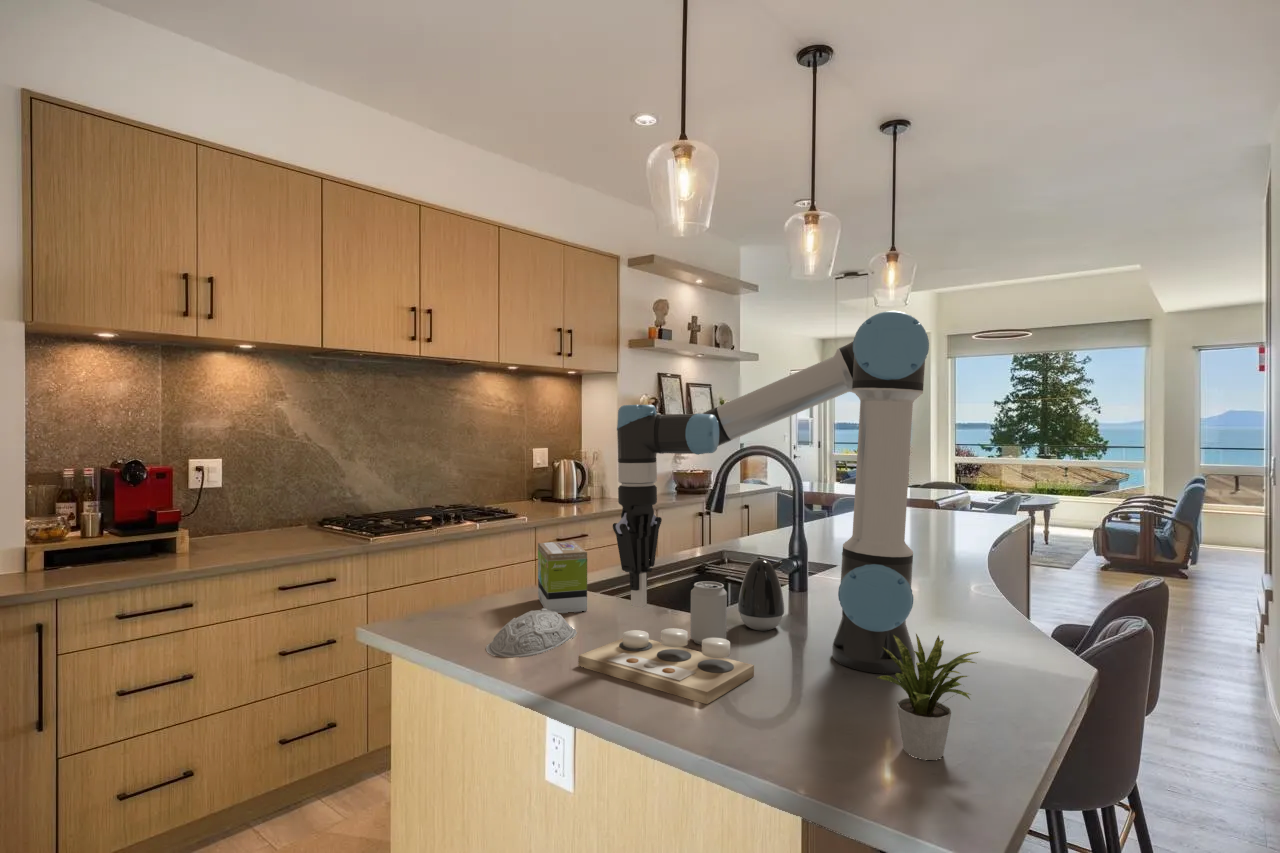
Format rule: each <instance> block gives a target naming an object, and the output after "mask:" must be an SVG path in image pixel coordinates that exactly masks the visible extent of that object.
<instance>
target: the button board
mask: <svg viewBox="0 0 1280 853" xmlns="http://www.w3.org/2000/svg"><path fill="white" fill-rule="evenodd" d="M577 656H578V662H577V665H578V667H580V666H581V668H583V667H584V669H586V670H590V671H594V672H597V673H601V674H604V675H607V676H609V677H610V676H611V677H612V678H613V677H614V678H617V679H620V680H624V681H628V682H629V683H634V684H638V685H641V686H644V687H647V688H650V689H654V690H657V691H661V692H664V693H668V694H671V695H675V696H677V697H680V698H683V699H684V698H685V699H687V700H691V701H694V702H697V703H700V704H704V705H709V704H710V703H712V702H713V701H716V700H717V699H719V698H721V697H722V696H723V695H725V694H727V693H728V692H730V691H731V690H733V689H735V688H736V687H738V686H741V684H743V683H745V682H747V681H748V680H750V679H751V678H754V677H755V665H754V664H752V663H747V662H742V661H739V660H735V659H732V658H727V657H723V658H712V657H707V656H705V655H703V654H702V651H697V650H695V649H692V648H691V649H689V648H686V647H684V646H683V647H667V646H664V645H662V644H661V641H658V640H653V639H650V638H649V645H648V646H647V647H645V648H639V649H633V648H627V647H625V646H624V645H623V637H622V638H619V639H617V640H615V641H613V642H609V643H607V644H603V645H602V646H599V647H596V648H594V649H592V650H589V651H586V652H584V653H581V654H578V655H577Z"/></svg>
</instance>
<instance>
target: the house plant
mask: <svg viewBox="0 0 1280 853" xmlns="http://www.w3.org/2000/svg"><path fill="white" fill-rule="evenodd" d="M893 636H894V635H893ZM915 637H916V642H917V648H918V649H917V650H914V651H913V652H915V656H916V657H917V659H918V661H919V662H915V666H916V668H917V673H916V670H915V667H914V664H913V661H912V658H911V655H910V653H909V650H908V649H907V648H906V646H905V645H904V644H903V643H902V642H901V640H900V639H899V638H898V637H896V636H894V638H895V641H896V643H897V645H898V648H899V651H900V653H901V657H902V661H903V664H902V663H901V662H900V660H898V659H897V658H896V657H895V656H894V655H893V654H892V653H891V652H890V651H888V650H887V649H885V648H883V649H884V650H885V651H886V652H887V653H888V654H889V655H890V656H891V658H892V659H893V660H894V662H895V663H896V664H897V665H898V666H899V668H900V669H901V671H902V673H894V676H895V677H896V678H895V677H893V676H890V675H888V674H886V675H885V674H884V675H880V676H878V677H877V679H879V680H883V681H888V682H890V683H893V684H896V685H898V686H899V687H900V688H902V689H903V690H904V691H905V692H906V694H907V696H908V697H904V698H901V699H899V700H898V701H897V702H896V709H897V716H898V723H899V728H900V729H899V730H900V734H901V743H902V748H904V749H903V751H904V750H905V751H906V752H907V753H908V754H910V755H912V756H914V757H917V758H921V759H927V760H936V759H939V758H941V757H942V756H943V757H944V753H945V748H946V742H947V737H948V732H949V726H950V721H951V717H952V711H951V708H950V707H949V706H947V705H946V704H944V702H945V703H946V701H948V700H949V699H951V698H953V697H954V695H952V696H950V697H949V698H947V699H946V700H945V701H943V702H940V701H939V700H940V699H941V697H942V696H943V694H945V693H955V694H956V695H958V694H959V695H961V696H963V697H966V698H967V699H969V700H971V698H970V697H969V695H970V696H972V694H971V693H969V692H965V691H963V690H961V689H956V688H955V687H959V686H962V685H963V687H965V686H964V684H962V683H960V682H958V680H960V679H961V678H966V677H969V675H962V673H961V672H959V671H956V670H954V669H955V668H956V667H957V666H959V665H961V664H966V663H969V664H970V663H971V664H976V661H972V660H973V658H966V657H968V656H971V655H974V654H979V653H980V651H972V652H968V653H963V654H961V655H959V656H957V657H955V658H953V659H952V660H950V661H949V662H948V663H944V664H940V665H939V663H940V660H941V658H942V647H943V645H944V644H945V643H944V641H945V639H942V640H941V639H940V633H939V634H938V636H937V637H936V638H935V642H934V645H933V647H932V649H931V651H930V653H929V655H928V657H927V659H926V655H925V650H924V648H923V646H922V643H921V640H920V638H919V636H918V634H917V633H915ZM940 669H941V670H940ZM939 670H940V672H939V673H938V674H937V675H936V676H935V673H936V671H937V672H938V671H939ZM950 673H956V674H961V675H959V676H955V677H950V676H949V674H950ZM917 674H918V676H917ZM934 676H935V677H934ZM946 679H950V680H948V681H945V680H946ZM905 751H904V752H905ZM906 752H905V753H906ZM907 753H906V754H907ZM908 754H907V755H908ZM910 755H909V756H910ZM912 756H911V757H912ZM914 757H913V758H914ZM917 758H916V759H917ZM941 759H942V758H941ZM936 761H937V760H936Z"/></svg>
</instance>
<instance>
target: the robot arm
mask: <svg viewBox="0 0 1280 853" xmlns="http://www.w3.org/2000/svg"><path fill="white" fill-rule="evenodd" d="M929 340H930V339H929V336H928V334H927V332H926V329H925V328H924V326H923V325H922V323H920V321H919V320H918V319H917V318H916V317H914V316H912V315H911V314H908V313H906V312H904V311H898V310H887V311H886V310H885V311H882V312H879V313H876V314H874V315H871V316H870V317H869V318H867V319H866V320H864V321H863V323H861V325H860V326H858V329H857V331H856V333H855V335H854V338H853V340H852V341H851V342H849V343H848V344H845V345H844V346H840V347H838V348H837V349H836V351H835V353H834V355H833V356H832V357H829V358H827V359H825V360H822V361H820V362H818V363H815V364H813V365H811V366H808V367H805V368H804V369H801V370H799V371H797V372H794V373H792V374H790V375H787V376H785V377H783V378H780V379H778V380H775V381H774V382H771V383H769V384H766V385H764V386H762V387H760V388H757V389H755V390H753V391H751V392H749V393H747V394H743V395H741V396H739V397H737V398H734V399H732V400H730V401H728V402H725V403H723V404H720V405H718V406H716V407H713V408H711V409H709V410H707V411H704V412H702V413H700V412H698V413H683V414H681V413H679V414H659V413H658V412H657V408H656V406H655V405H653V404H624V405H622V406H620V407H619V408H618V412H617V424H616V432H617V433H616V434H617V435H616V436H617V462H618V463H617V464H618V468H617V470H618V471H617V472H618V473H617V474H618V476H617V477H618V478H617V481H618V483H619V484H621V485H619V486H618V487H617V495H618V496H617V497H618V499H617V501H618V504H619V505H620V506H621V507H622V510H621V513H620V520H619V521H618V522H614V523H613V524H612V529H613V531H614V534H615V537H616V541H617V547H618V548H617V549H618V553H619V554H618V555H619V560H620V566H621V571H623V572H625V573H629V574H628V575H629V588H630V607H631V606H632V607H637V608H640V609H643V608H645V607H647V606H648V604H647V603H648V601H647V600H648V598H647V597H648V596H647V594H648V592H647V591H648V590H647V588H648V573H651V572H652V571H653V568H654V566H655V563H656V554H657V548H658V546H657V545H658V538H659V531H660V526H661V524H662V520H663V519H662V517H661V516H656V515H655V511H654V508H653V507H654V505H656V504H657V503H658V490H657V489H658V487H657V485H656V484H655V483H657V481H658V472H657V471H658V468H657V467H658V466H657V465H658V464H657V455H658V454H660V455H661V454H662V455H664V454H675V455H676V454H679V455H681V454H683V455H686V454H687V455H689V454H691V455H704V454H714V453H715V452H716V451H717V450H718V447H720V446H722V445H724V444H726V443H728V442H731V441H733V440H735V439H738V438H740V437H743V436H746V435H748V434H751V433H752V432H755V431H757V430H760V429H762V428H764V427H767V426H769V425H771V424H774V423H777V422H780V421H782V420H784V419H786V418H789V417H791V416H793V415H794V416H795V415H796V414H799V413H801V412H803V411H806V410H808V409H810V408H811V409H812V408H813V407H816V406H818V405H820V404H823V403H825V402H828V401H830V400H832V399H834V398H837V397H840V396H842V395H845V394H847V393H853V394H855V396H857V398H858V399H859V400H860V401H859V402H860V403H859V419H858V432H857V433H858V434H857V450H856V451H857V452H856V453H857V454H856V470H855V484H854V485H855V487H854V501H853V502H854V503H853V504H854V505H853V517H852V518H853V519H852V520H853V522H852V535H851V536H850V538H849V539H847V540H846V541H845V542H844V543H843V544H842V552H841V570H840V571H841V572H840V584H839V586H838V594H837V595H838V601H839V604H840V607H841V608H842V609H841V616H842V617H841V620H840V622H839V625H838V628H837V631H836V633H835V637H834V639H833V643H832V645H831V646H832V650H831V653H832V655H831V657H832V659H833V660H834V661H835V662H837V664H838V663H839V664H840V665H842V666H844V667H846V668H849V669H853V670H857V671H860V672H861V671H862V672H866V673H873V674H884V675H885V674H886V675H888V674H896V673H901V674H903V673H902V671H901V669H900V668H899V666H898V665H897V664H896V663H895V662H894V660H893V659H892V658H891V656H890V655H889V654H888V653H887V652H886V651H885V650H884V649H883V648H885V649H887V650H888V651H890V652H891V653H892V654H893V655H894V656H895V657H896V658H897V659H898V660H900V662H901V663H902V664H903V661H902V657H901V653H900V651H899V648H898V645H897V643H896V641H895V638H894V636H896V637H898V638H899V639H900V640H901V642H902V643H903V644H904V645H905V646H906V648H907V649H908V650H909V653H910V655H911V658H912V661H913V664H914V666H915V667H916V653H915V652H913V651H915V649H914V647H913V643H912V638H911V636H910V633H909V629H908V627H907V623H906V622H907V618H909V615H910V613H911V612H912V609H913V606H914V594H913V589H912V580H913V579H912V578H913V563H914V551H913V550H912V549H911V548H910V547H909V545H908V544H906V541H905V537H906V536H905V535H906V521H907V520H906V519H907V506H908V489H909V471H910V470H909V469H910V458H911V456H910V455H911V454H910V453H911V438H912V424H913V422H912V420H913V405H914V402H915V401H916V400H917V399H918V398H919V397H921V395H922V394H924V385H925V384H924V383H925V382H924V381H925V370H926V368H925V367H926V359H927V356H928V354H929V350H930V341H929ZM652 567H653V568H652ZM893 635H894V636H893Z"/></svg>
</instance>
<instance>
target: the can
mask: <svg viewBox="0 0 1280 853" xmlns="http://www.w3.org/2000/svg"><path fill="white" fill-rule="evenodd" d="M693 586H694V587H693V588H692V589H691V590H690V636H689V637H690V638H691V639H692V640H693V641H694V642H695V644H697V645H700V646H702V640H704V639H706V638H723V639H726V640H727V617H728V616H727V610H728V609H727V607H728V603H727V602H728V600H727V599H728V597H727V596H728V592H727V590H726V589H725V588H724V587H725V585H724V584H723V583H721V582H717V581H709V580H708V581H707V580H706V581H698V582H694V584H693Z"/></svg>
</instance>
